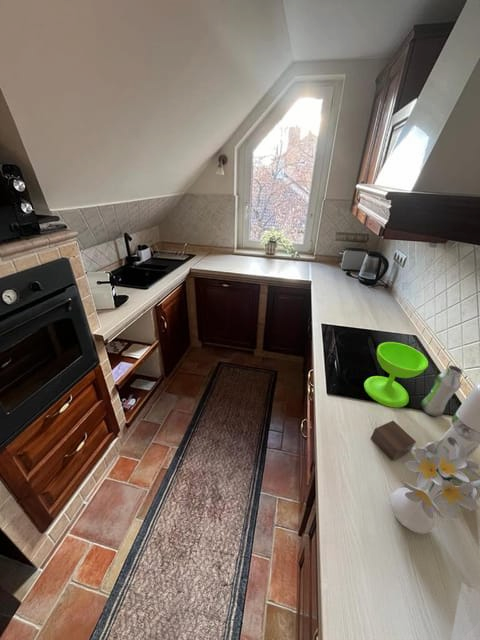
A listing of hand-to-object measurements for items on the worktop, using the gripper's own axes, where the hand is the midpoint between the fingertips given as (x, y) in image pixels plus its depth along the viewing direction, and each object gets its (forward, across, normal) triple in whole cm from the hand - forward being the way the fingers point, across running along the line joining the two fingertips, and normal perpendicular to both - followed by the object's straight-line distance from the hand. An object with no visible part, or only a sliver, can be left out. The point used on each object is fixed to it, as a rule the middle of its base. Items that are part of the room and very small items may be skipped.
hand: (439, 465), depth 72 cm
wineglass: (+3, +12, +28) cm, 31 cm away
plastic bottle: (+2, +19, +15) cm, 24 cm away
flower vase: (+3, -19, -5) cm, 20 cm away
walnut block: (+2, -6, +11) cm, 13 cm away
